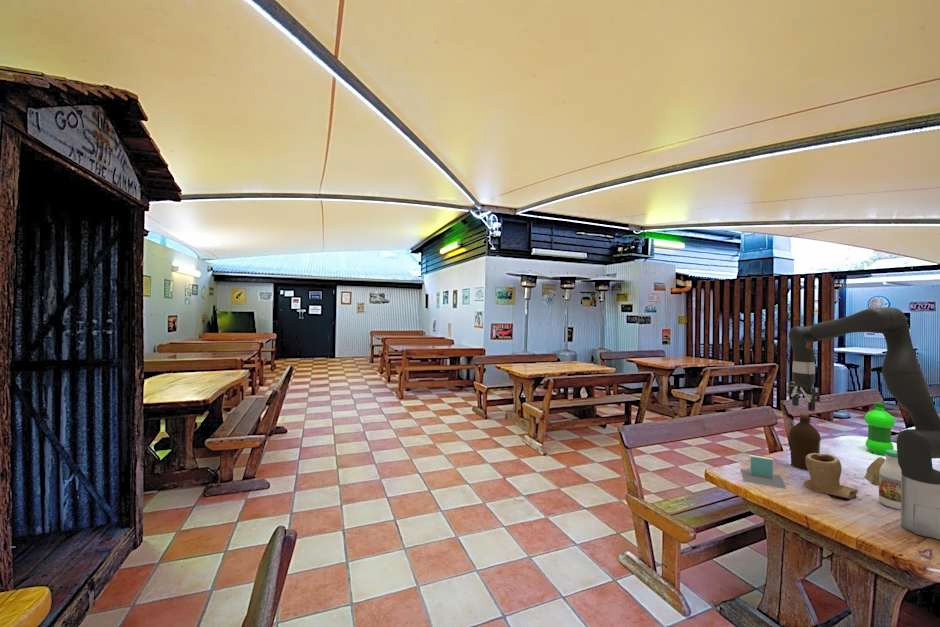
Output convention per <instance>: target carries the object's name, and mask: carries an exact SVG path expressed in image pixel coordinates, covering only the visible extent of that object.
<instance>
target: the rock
mask: <svg viewBox="0 0 940 627" xmlns="http://www.w3.org/2000/svg"><path fill="white" fill-rule="evenodd" d="M885 460H886V458H883V457H877V458H876V459H874V461H873V462H871V463H870V464H869V465H868V467H867V468H866V473H865V476H864V477H865V479H867V480H868V481H869V482H870V483H871V484H873V485H877V486H879V471H880V468H881V466H882V465H883V463H884V462H885Z"/></svg>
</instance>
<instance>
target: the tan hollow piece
mask: <svg viewBox="0 0 940 627" xmlns="http://www.w3.org/2000/svg"><path fill="white" fill-rule="evenodd" d="M805 462H806V467H807V470H808V471H807V470H806V471H807V472H808V474H809V476H810V479H806V480H805V481H803V485H804V486H805V488H808V489H810V490H814V491H817V492H821V493H824V494H828V495H831V496H835V497H839V498H844V499H849V500H850V499H853V498H855V496H857V493H858V492H859V490H858V488H854V487H849V486H845V485H841V483H840V478H841V475H842V464H841V461H840V460H839V458H838V457H837V456H834V455H833V454H830V453H820V454H819V453H811V454H808V455H807V456H806V458H805Z"/></svg>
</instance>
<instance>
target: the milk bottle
mask: <svg viewBox="0 0 940 627" xmlns="http://www.w3.org/2000/svg"><path fill="white" fill-rule="evenodd" d="M885 454H886V455H884V456H885V462H884V463H883V465H882V466H881V468H880V471H879V485H878V501H879V503H881V505H884V506H886V507H889V508H893V509H896V510H901V468H900V466H899V464H898V457H897V449H896V450H894V449H893V450H886V451H885Z"/></svg>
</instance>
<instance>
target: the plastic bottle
mask: <svg viewBox="0 0 940 627" xmlns="http://www.w3.org/2000/svg"><path fill="white" fill-rule="evenodd" d="M872 407H874V409H872V410H870V411H868V412H866V413H865V415H864V422H865V423H866V424H867V425H868V426H867V434H868V435H867V436H868V437H867V439H866V441H865V447H866V448H867V449H868V450H869V451H871V453H873V454H876V455H880V456H882V455H883V456H885V455H886V454H885V451H886V450H894V446H895V445H894V444H893V442H892V440H891V439H892V428H893V427H894V426H895V420H896V419H895V418H894V416H892V415H891V414H890V413H888V412H887V411H886V410H885V409H886V403H885V402H881V401H880V402H879V401H874V402H873V406H872Z"/></svg>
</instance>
